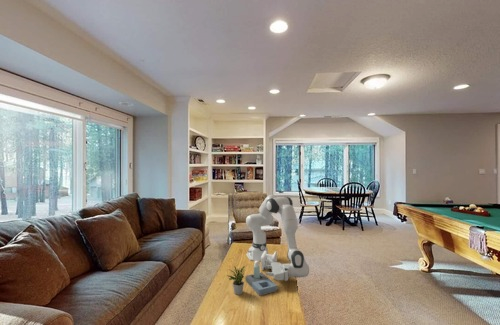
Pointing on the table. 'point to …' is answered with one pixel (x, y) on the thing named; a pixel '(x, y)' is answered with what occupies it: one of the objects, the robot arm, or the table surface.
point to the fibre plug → (256, 270)
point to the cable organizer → (267, 259)
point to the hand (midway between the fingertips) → (265, 270)
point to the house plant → (237, 280)
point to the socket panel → (261, 284)
